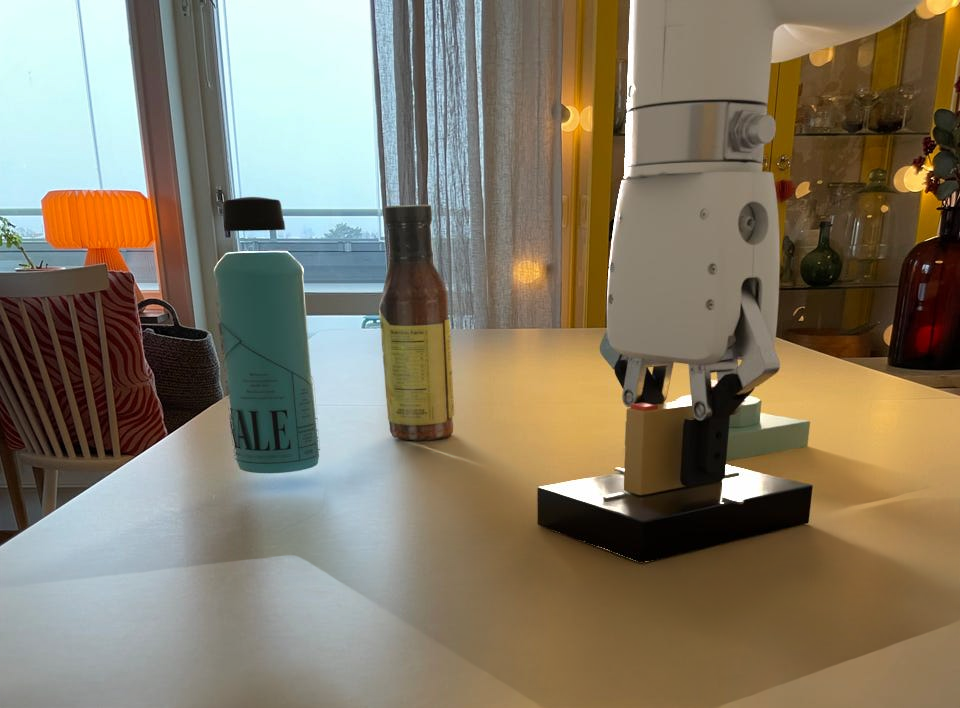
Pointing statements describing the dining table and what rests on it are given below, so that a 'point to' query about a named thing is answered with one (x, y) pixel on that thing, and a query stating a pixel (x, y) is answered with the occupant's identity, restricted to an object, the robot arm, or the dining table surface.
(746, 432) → the button block
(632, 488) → the tan rectangular block
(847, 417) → the dining table surface
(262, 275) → the beverage bottle
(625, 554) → the dial base
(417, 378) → the sauce bottle
